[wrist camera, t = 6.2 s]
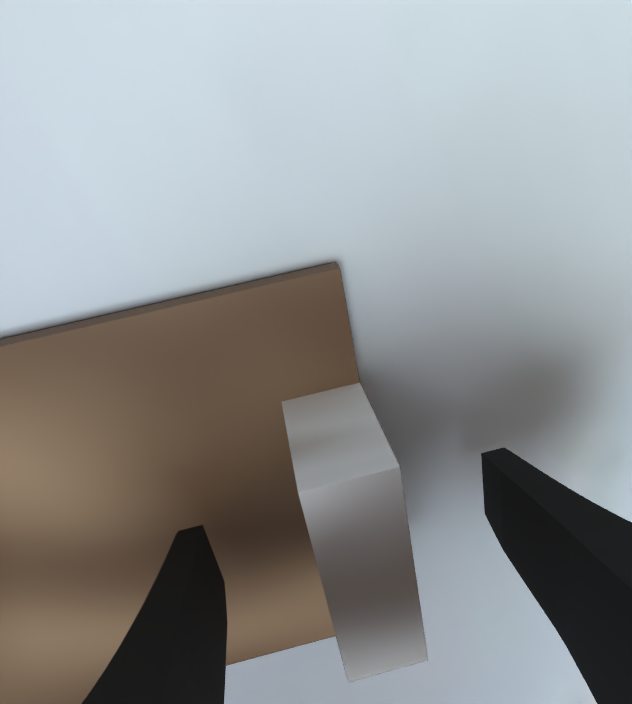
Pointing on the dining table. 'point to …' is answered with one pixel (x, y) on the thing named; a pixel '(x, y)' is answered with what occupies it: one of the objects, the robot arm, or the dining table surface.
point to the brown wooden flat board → (199, 483)
